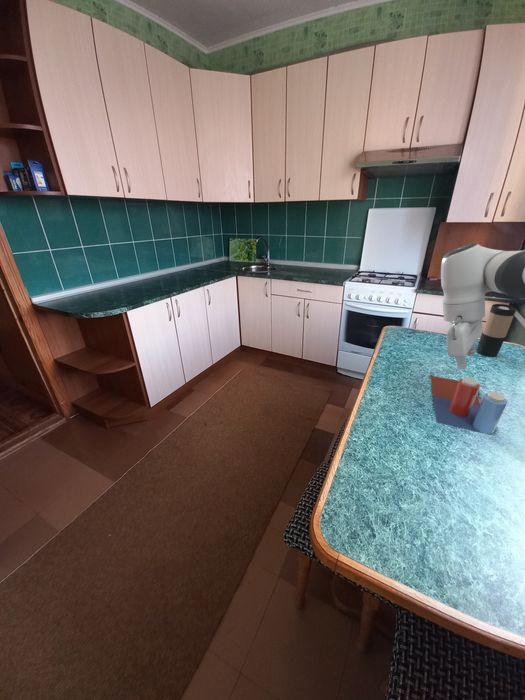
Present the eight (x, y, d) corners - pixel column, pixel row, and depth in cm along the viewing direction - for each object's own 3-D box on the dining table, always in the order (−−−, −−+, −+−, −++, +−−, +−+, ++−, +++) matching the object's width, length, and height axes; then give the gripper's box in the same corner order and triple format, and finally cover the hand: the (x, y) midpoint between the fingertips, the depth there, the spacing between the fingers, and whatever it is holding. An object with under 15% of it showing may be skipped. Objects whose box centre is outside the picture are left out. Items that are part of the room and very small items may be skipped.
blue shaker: (491, 424, 81) (505, 392, 76) (496, 436, 77) (511, 403, 72) (470, 419, 83) (483, 388, 78) (473, 431, 79) (487, 399, 74)
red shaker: (467, 408, 88) (479, 378, 83) (470, 418, 84) (482, 387, 79) (448, 404, 89) (458, 374, 85) (450, 414, 85) (461, 383, 80)
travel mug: (472, 352, 120) (489, 306, 111) (479, 347, 125) (495, 302, 115) (494, 359, 115) (513, 311, 106) (500, 353, 119) (519, 307, 110)
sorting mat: (472, 384, 100) (472, 383, 100) (490, 436, 78) (491, 435, 78) (429, 376, 105) (430, 375, 104) (436, 424, 83) (436, 422, 82)
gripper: (469, 321, 66) (472, 377, 69) (486, 301, 79) (488, 349, 82) (437, 323, 70) (442, 375, 74) (459, 303, 83) (461, 348, 87)
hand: (466, 361), depth 78 cm, fingers open, 8 cm apart
